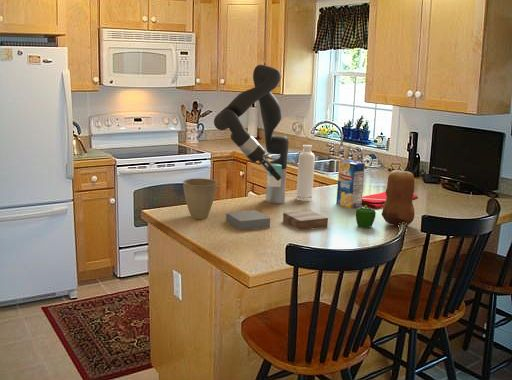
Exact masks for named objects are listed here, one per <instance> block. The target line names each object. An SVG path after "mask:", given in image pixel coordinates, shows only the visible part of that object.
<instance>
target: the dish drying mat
mask: <svg viewBox="0 0 512 380" xmlns="http://www.w3.org/2000/svg"><path fill="white" fill-rule="evenodd" d="M418 197H419V196H418V195H417V194H414V193H413V197H412V199H413V200H416V199H418ZM386 198H387V195H386V191H383V192H378V193H375V194H373V193H372V194H368V195H365V196H363V195H362V205H361V207H364V206H365V205H367V209H368V208H371V209H372V210H379V209H383V205H384V203H385V201H386ZM415 198H416V199H415Z"/></svg>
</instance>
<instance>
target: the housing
mask: <svg viewBox="0 0 512 380" xmlns="http://www.w3.org/2000/svg"><path fill="white" fill-rule="evenodd" d="M272 165H273V168H274V169H275V170H276V172H277V173H278V174H279V175H280V176H281V173H282V165H280V164H272ZM272 170H273V169H272V168H271V169H270V172H271V171H272ZM270 172H269V171H267V173H266V174H267V177H266V186H267V185H268V186H269V187H281V179H280V180H279V181H277V180H276V179H275V177H274V176H273V175H271V174H270Z"/></svg>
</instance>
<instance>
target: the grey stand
mask: <svg viewBox="0 0 512 380" xmlns="http://www.w3.org/2000/svg"><path fill="white" fill-rule="evenodd" d="M225 214H226V216H225V222H226V223H228V224H229V225H230V226H232V227H234V228H235V229H237V230H238V231H248V230H249V231H250V230H257V229H266V228H267V229H269V228H271V217H268V216H267V215H265V214H263V213H261V212H259V211H257V210H256V209H253V210H251V209H250V210H241V211H231V212H230V211H229V212H226V213H225Z"/></svg>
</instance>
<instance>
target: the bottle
mask: <svg viewBox="0 0 512 380" xmlns="http://www.w3.org/2000/svg"><path fill="white" fill-rule="evenodd" d="M312 147H313V145H312V144H303V145H302V152H300V153H299V154H298V160H297V161H298V163H297V164H298V165H297V177H296V178H297V179H296V180H297V181H296V198H295V200H297V201H300V200H301V201H300V202H310V201H313V190H314V177H315V176H314V175H315V162H316V161H315V159H316V158H315V157H316V156H315V154H314V153H313V151H312ZM301 197H302V198H301Z"/></svg>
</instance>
